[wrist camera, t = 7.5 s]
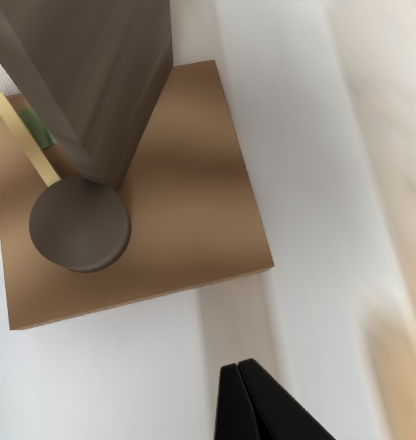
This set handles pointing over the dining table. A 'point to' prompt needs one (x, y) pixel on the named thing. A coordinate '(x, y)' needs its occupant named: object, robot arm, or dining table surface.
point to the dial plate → (140, 209)
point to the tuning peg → (84, 112)
